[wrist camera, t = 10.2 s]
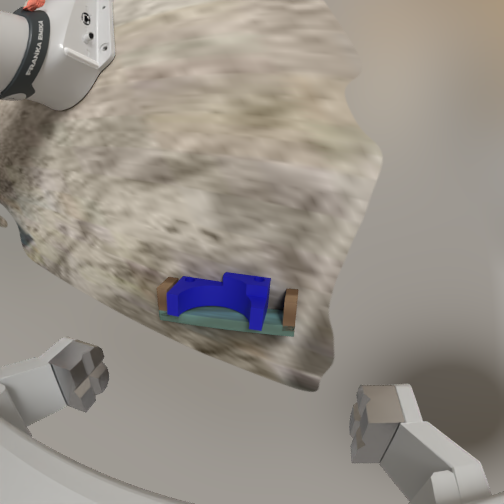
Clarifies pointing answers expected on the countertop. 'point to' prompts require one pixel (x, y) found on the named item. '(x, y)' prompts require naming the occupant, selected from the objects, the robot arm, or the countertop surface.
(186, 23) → the countertop surface
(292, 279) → the countertop surface
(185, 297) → the cable clip
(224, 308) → the rail
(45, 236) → the countertop surface
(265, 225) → the countertop surface
